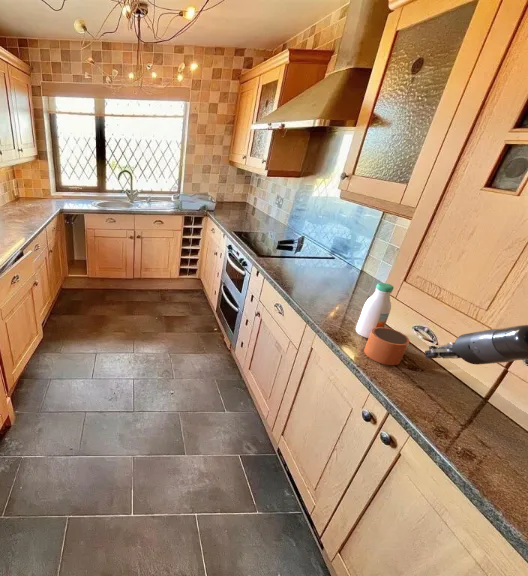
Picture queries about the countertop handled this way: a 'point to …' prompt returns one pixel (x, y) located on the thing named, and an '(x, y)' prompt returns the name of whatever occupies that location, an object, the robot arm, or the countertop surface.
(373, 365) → the countertop surface
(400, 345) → the terracotta pot
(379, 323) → the milk bottle
